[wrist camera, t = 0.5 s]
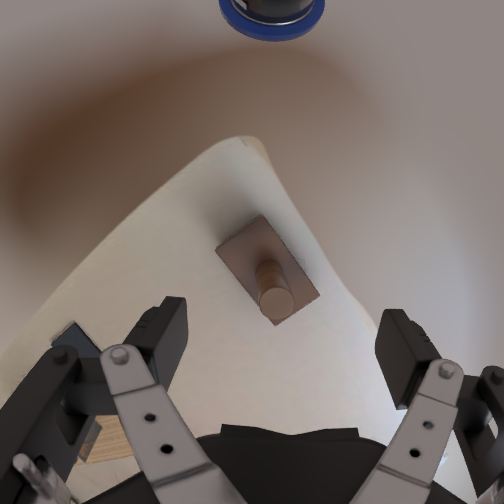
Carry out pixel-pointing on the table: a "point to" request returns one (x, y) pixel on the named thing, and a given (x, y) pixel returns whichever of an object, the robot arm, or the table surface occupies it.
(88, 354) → the mat
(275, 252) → the brown block with cylinder
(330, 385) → the table surface
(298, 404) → the table surface
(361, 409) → the table surface
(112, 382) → the robot arm
